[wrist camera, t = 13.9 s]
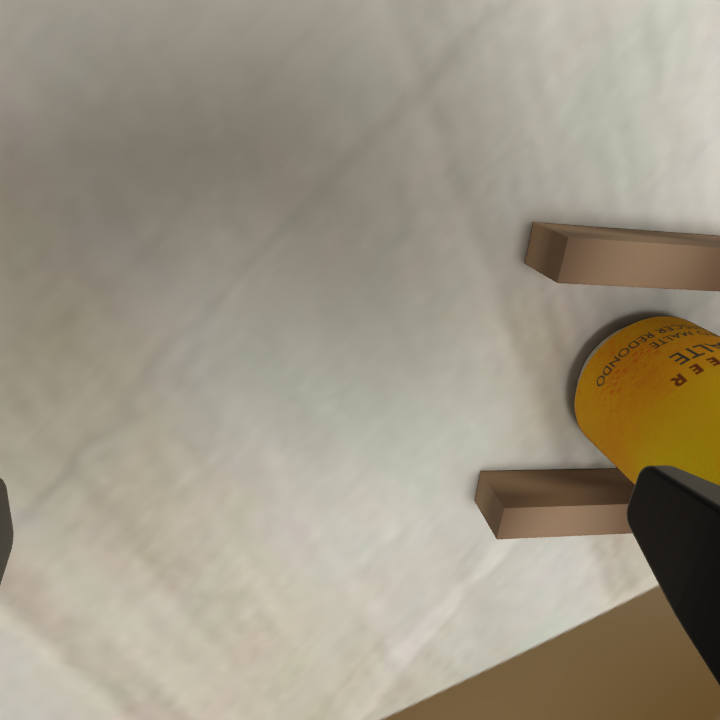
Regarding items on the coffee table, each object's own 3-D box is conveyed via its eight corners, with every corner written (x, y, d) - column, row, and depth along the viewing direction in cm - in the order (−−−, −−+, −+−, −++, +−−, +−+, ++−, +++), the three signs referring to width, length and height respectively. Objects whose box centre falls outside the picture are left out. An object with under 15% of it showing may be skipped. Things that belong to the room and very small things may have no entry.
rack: (474, 500, 26) (508, 560, 22) (533, 222, 21) (588, 245, 18) (702, 493, 28) (764, 547, 25) (801, 241, 23) (893, 265, 20)
